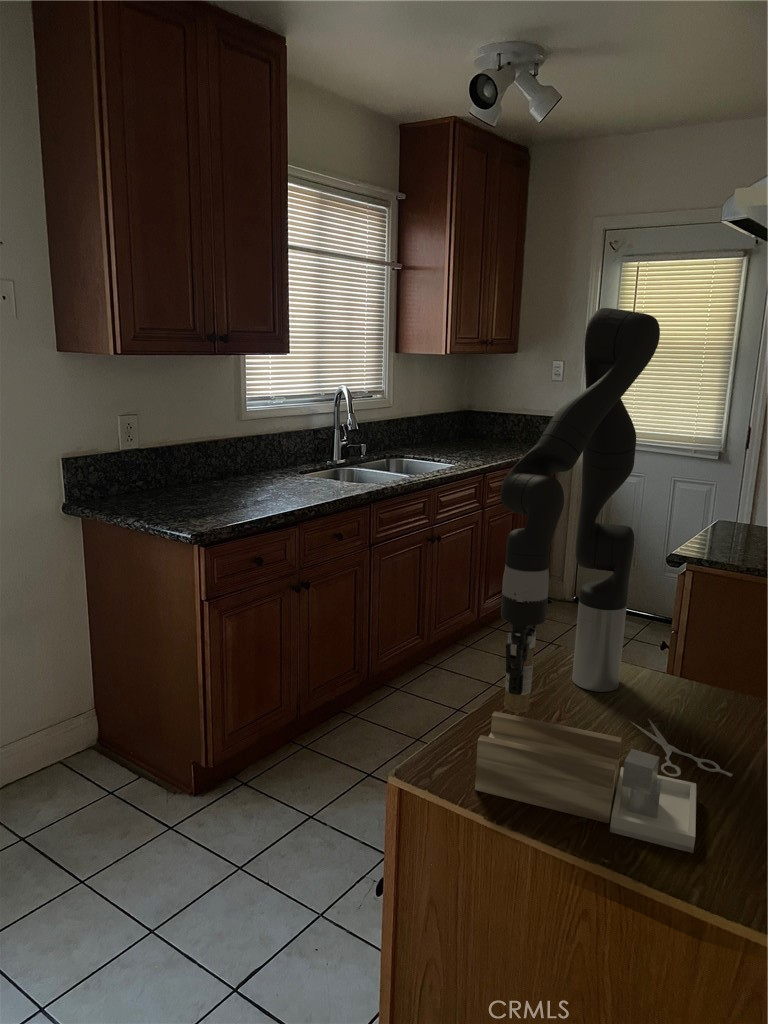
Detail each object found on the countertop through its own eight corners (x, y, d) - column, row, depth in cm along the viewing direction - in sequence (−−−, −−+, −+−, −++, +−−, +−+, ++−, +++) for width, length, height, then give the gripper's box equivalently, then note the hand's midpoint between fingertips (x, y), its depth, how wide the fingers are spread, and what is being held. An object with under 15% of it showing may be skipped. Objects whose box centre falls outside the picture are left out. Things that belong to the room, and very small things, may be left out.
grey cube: (629, 772, 113) (631, 748, 113) (656, 781, 111) (659, 756, 111) (621, 785, 110) (624, 760, 109) (650, 794, 108) (652, 769, 107)
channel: (491, 758, 126) (494, 711, 124) (616, 787, 118) (621, 737, 116) (474, 789, 116) (477, 739, 115) (609, 823, 109) (614, 770, 107)
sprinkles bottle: (501, 701, 132) (506, 628, 129) (527, 701, 132) (533, 629, 129) (505, 713, 128) (510, 638, 125) (532, 714, 128) (538, 639, 125)
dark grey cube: (633, 773, 113) (661, 779, 112) (630, 796, 114) (658, 803, 113) (630, 786, 110) (659, 793, 108) (628, 811, 111) (657, 818, 109)
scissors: (673, 781, 120) (611, 719, 139) (673, 785, 120) (611, 723, 139) (733, 775, 122) (664, 714, 141) (732, 779, 122) (663, 718, 141)
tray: (619, 781, 120) (621, 766, 119) (694, 798, 116) (696, 783, 115) (609, 831, 107) (611, 816, 107) (693, 853, 103) (695, 836, 103)
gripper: (512, 577, 133) (506, 668, 137) (492, 601, 120) (486, 700, 124) (555, 583, 131) (548, 675, 134) (539, 608, 118) (532, 709, 121)
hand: (518, 687), depth 129 cm, fingers closed on sprinkles bottle, 4 cm apart
